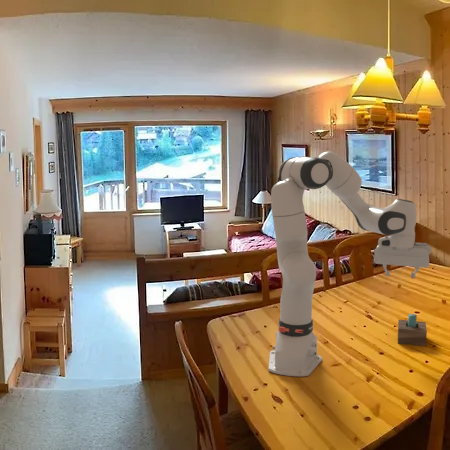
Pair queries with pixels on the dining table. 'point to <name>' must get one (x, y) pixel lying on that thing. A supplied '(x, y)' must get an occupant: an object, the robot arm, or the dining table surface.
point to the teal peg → (412, 320)
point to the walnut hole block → (412, 333)
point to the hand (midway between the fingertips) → (400, 276)
